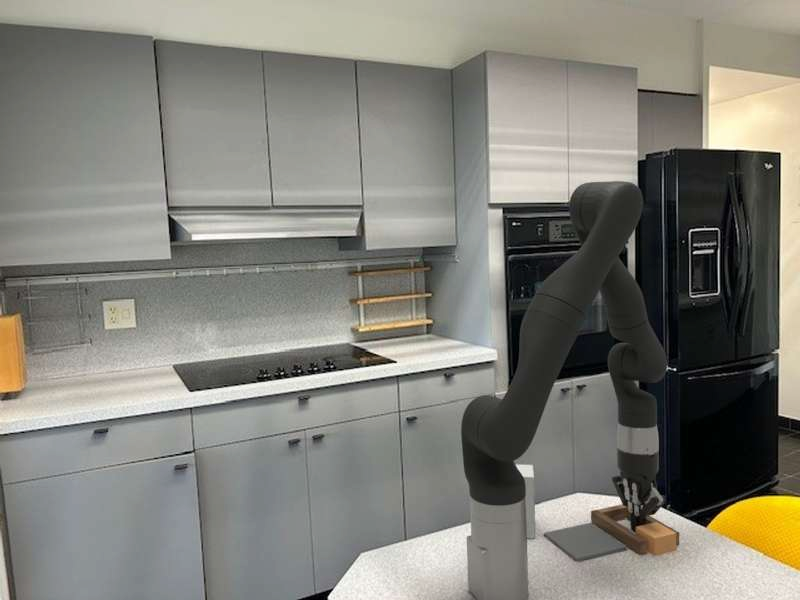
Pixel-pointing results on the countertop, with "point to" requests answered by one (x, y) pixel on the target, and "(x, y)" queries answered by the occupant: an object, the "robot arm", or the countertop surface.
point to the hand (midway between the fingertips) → (638, 531)
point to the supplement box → (529, 497)
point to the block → (657, 538)
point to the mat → (584, 541)
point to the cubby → (608, 524)
